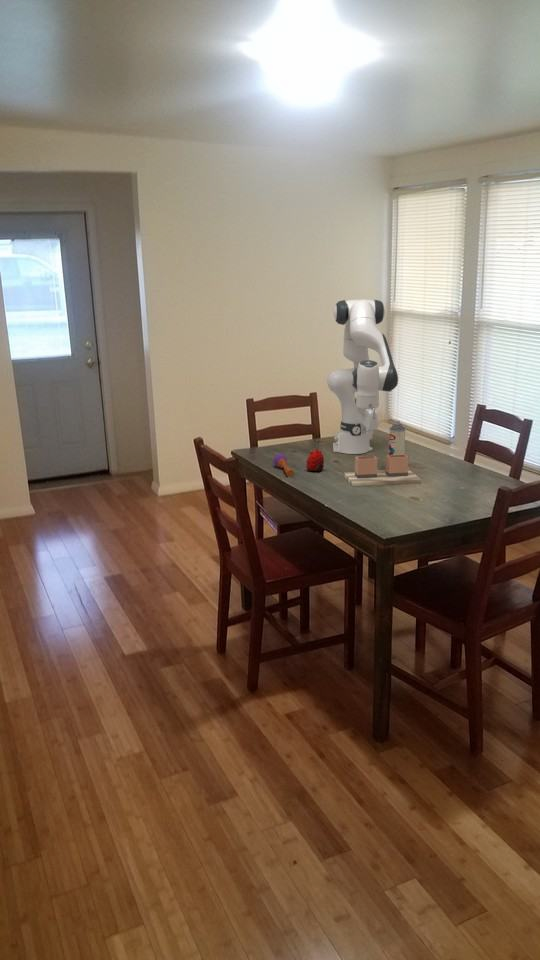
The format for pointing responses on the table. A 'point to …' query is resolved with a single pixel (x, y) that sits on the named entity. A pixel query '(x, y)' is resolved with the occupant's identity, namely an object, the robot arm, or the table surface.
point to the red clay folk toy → (315, 460)
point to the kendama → (283, 464)
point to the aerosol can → (396, 439)
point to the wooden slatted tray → (381, 479)
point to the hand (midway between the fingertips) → (366, 436)
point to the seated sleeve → (397, 465)
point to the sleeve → (366, 467)
